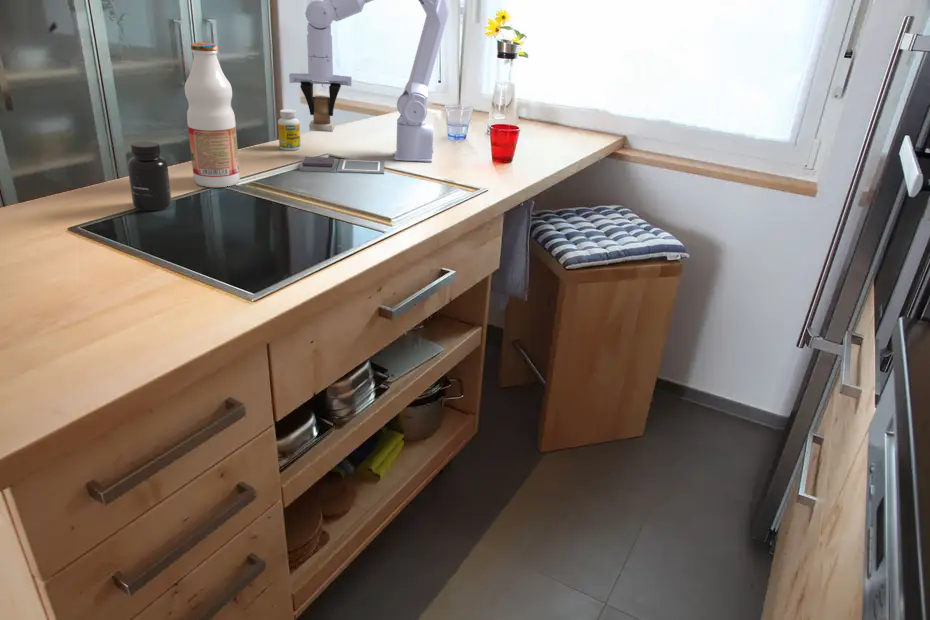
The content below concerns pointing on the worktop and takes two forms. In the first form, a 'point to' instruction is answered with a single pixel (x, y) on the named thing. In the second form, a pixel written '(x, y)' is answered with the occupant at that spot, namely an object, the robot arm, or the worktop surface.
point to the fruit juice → (211, 120)
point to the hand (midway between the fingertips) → (321, 114)
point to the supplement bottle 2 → (289, 130)
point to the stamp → (321, 115)
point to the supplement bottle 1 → (149, 177)
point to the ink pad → (318, 164)
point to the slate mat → (361, 166)
